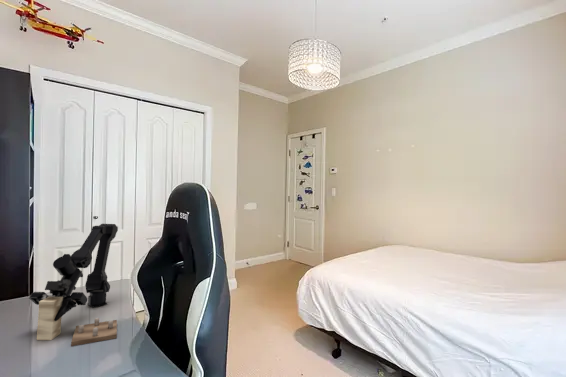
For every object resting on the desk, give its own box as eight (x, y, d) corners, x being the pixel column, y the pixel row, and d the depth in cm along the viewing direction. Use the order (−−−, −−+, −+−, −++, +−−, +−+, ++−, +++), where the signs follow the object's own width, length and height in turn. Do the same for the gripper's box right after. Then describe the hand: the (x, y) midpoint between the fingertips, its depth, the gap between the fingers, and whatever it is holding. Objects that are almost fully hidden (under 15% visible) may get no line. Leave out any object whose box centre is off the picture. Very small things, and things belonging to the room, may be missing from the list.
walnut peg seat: (75, 329, 116) (76, 319, 116) (116, 323, 123) (117, 313, 123) (71, 346, 103) (71, 334, 104) (116, 338, 110) (117, 327, 110)
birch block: (46, 333, 112) (49, 296, 112) (60, 333, 112) (62, 296, 112) (36, 340, 107) (39, 301, 107) (51, 340, 107) (53, 301, 107)
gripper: (34, 270, 113) (8, 310, 102) (84, 271, 115) (64, 311, 103) (47, 285, 121) (24, 323, 109) (95, 285, 122) (77, 324, 111)
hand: (47, 320), depth 108 cm, fingers closed on birch block, 5 cm apart
